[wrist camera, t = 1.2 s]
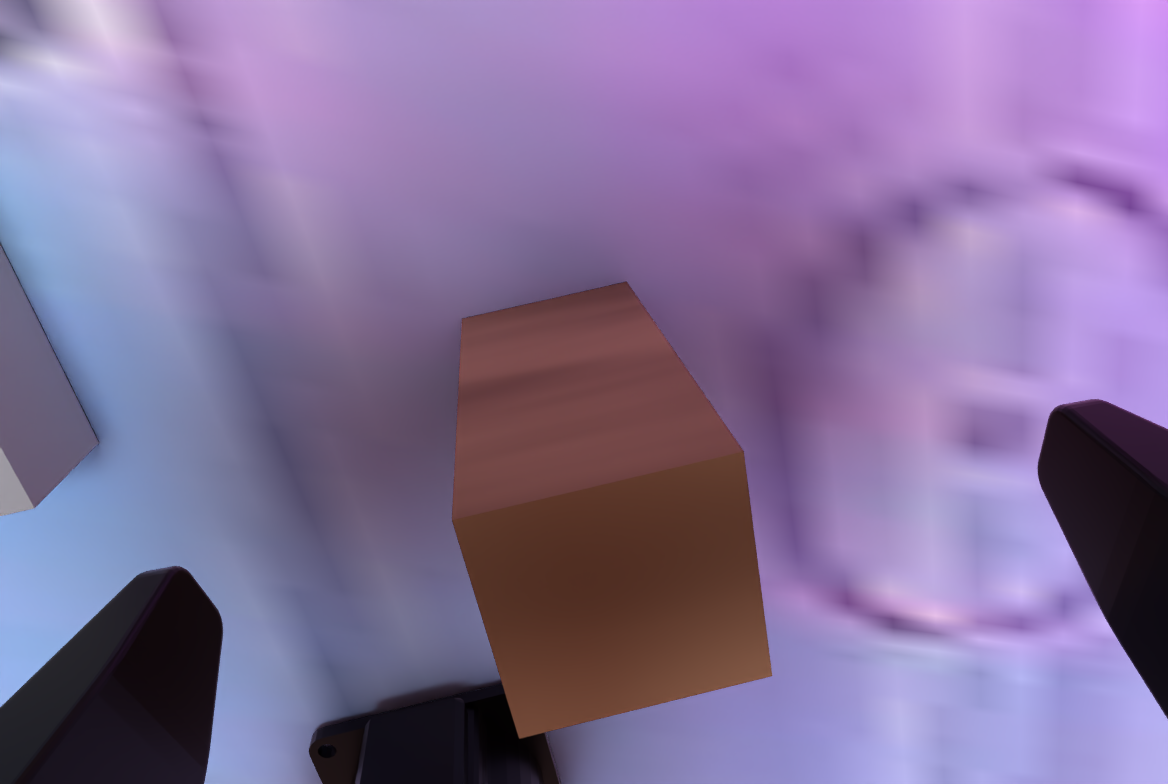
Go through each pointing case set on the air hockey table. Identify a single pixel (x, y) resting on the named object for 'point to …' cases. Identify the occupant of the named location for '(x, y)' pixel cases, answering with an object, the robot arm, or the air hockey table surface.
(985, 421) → the air hockey table surface
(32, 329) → the gauge block
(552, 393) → the brown rectangular block
